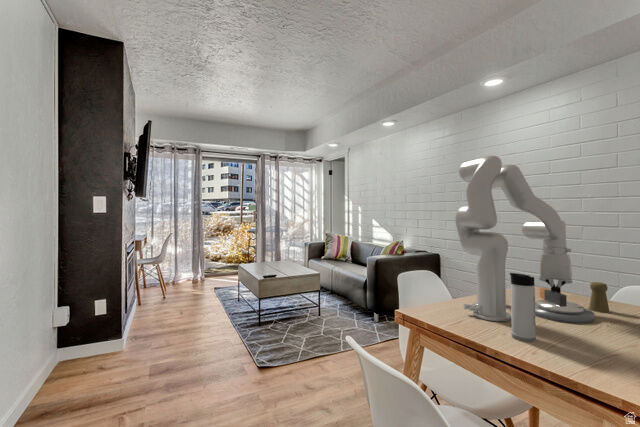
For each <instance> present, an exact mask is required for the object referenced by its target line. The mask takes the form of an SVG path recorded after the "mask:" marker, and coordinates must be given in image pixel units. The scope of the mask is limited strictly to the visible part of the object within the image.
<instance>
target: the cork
mask: <svg viewBox="0 0 640 427" xmlns="http://www.w3.org/2000/svg"><path fill="white" fill-rule="evenodd" d="M589 287H590V290H591V295H590V300H589V301H590V302H589V309H590V311H592V312H596V313H604V314H606V313H607V314H609V313H610V307H609V306H610V305H609V302H608V295H607V291H608V290H609V289H608V285H607V283H605V282H604V283H603V282H600V281H599V282H598V281H594V282H590V284H589Z"/></svg>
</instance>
